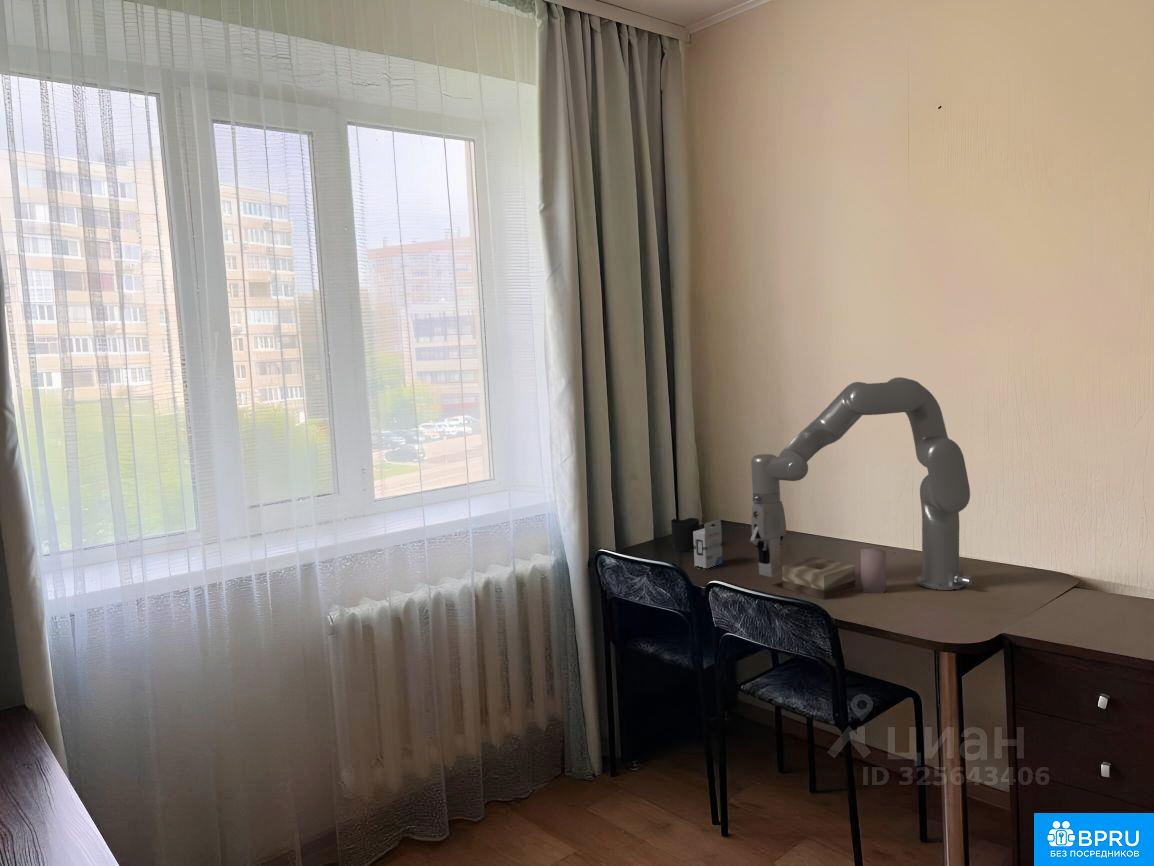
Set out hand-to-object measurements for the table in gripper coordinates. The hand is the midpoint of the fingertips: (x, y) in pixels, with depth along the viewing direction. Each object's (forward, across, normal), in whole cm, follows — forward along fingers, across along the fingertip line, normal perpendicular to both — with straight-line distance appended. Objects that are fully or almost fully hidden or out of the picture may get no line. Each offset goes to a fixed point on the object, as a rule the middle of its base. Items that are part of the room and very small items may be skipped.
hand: (769, 560), depth 241 cm
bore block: (+8, +7, -11) cm, 15 cm away
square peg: (+4, 0, 0) cm, 4 cm away
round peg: (+8, +16, -22) cm, 29 cm away
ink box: (+7, +3, +28) cm, 29 cm away
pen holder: (+7, +13, +48) cm, 50 cm away
